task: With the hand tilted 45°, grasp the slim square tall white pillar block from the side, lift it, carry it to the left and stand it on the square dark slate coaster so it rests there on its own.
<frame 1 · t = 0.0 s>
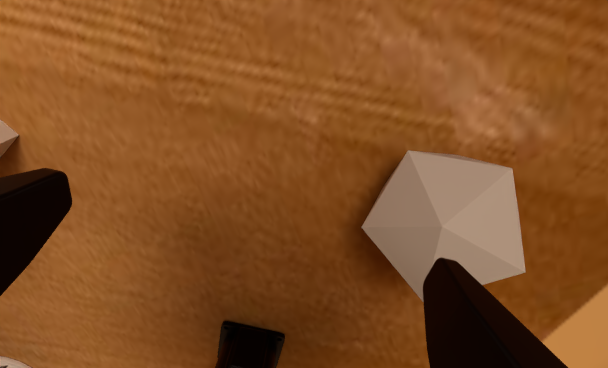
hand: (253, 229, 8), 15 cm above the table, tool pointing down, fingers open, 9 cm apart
die: (426, 186, 24), on the table
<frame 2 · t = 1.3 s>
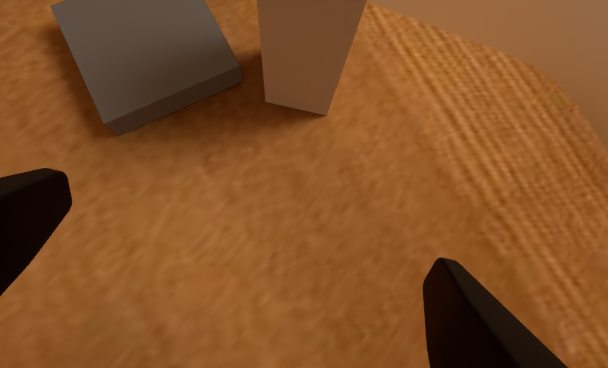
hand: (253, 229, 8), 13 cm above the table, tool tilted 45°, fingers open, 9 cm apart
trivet: (156, 54, 23), on the table
tall white pillar block: (302, 81, 24), on the table
when the fingers open (9 cm above the table, at t = 7.8 s): tall white pillar block stays where it is, resting on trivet.
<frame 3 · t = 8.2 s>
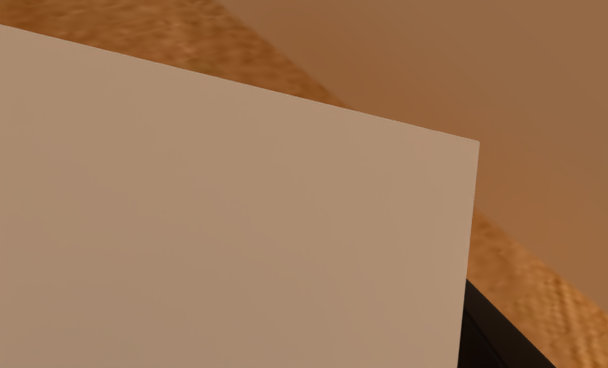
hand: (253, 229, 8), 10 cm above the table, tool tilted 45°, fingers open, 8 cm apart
tall white pillar block: (257, 274, 15), point 2 cm above the table, touching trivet
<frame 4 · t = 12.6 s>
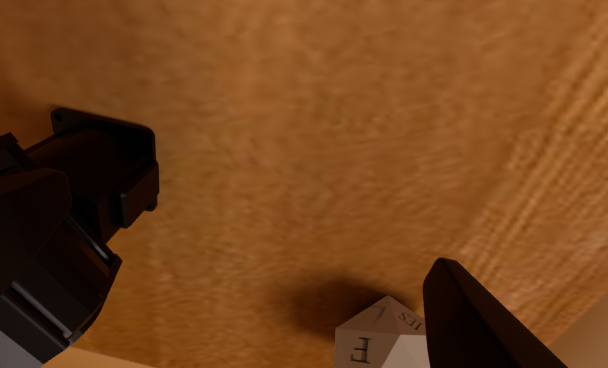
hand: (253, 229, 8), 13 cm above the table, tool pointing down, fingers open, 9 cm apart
die: (383, 316, 29), on the table
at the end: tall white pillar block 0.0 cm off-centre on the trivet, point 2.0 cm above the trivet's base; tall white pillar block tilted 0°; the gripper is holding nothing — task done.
